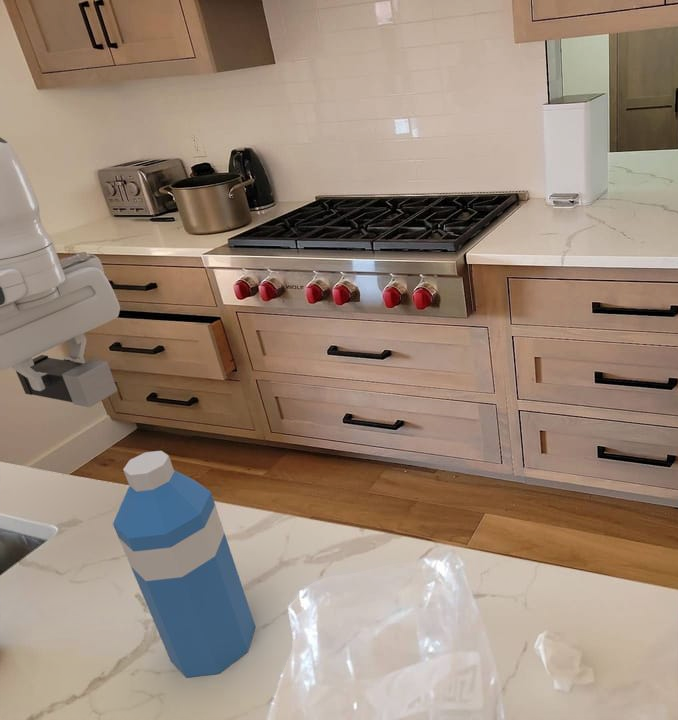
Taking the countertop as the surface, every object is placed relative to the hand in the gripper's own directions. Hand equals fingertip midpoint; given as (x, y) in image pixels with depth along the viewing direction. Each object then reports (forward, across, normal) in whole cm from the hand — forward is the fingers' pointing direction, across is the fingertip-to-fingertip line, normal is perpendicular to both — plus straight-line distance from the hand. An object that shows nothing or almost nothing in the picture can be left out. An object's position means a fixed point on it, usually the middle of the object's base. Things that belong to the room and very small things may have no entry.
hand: (60, 378), depth 85 cm
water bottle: (+25, +11, +27) cm, 38 cm away
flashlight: (+2, 0, 0) cm, 2 cm away
